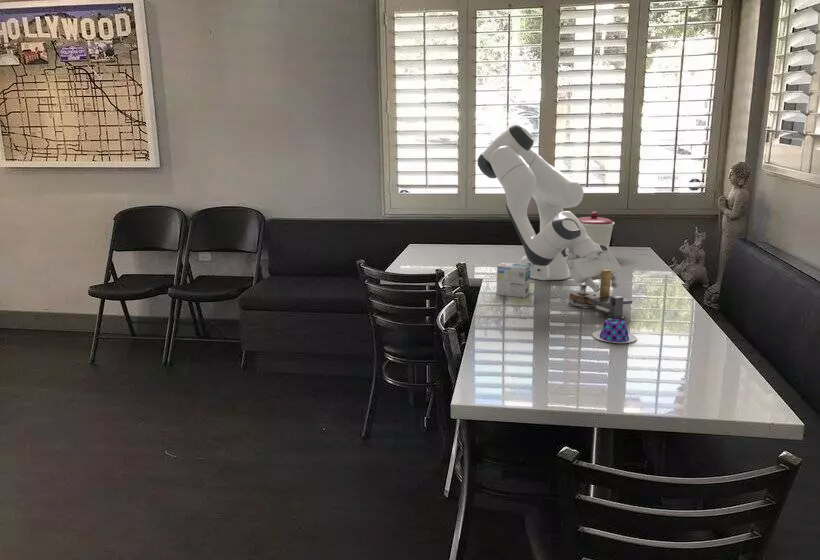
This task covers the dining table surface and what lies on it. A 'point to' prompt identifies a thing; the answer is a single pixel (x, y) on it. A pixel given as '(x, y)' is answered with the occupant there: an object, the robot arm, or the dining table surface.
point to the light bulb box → (513, 279)
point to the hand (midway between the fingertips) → (607, 289)
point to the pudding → (614, 332)
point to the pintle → (583, 293)
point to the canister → (598, 228)
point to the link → (603, 293)
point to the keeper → (612, 305)
